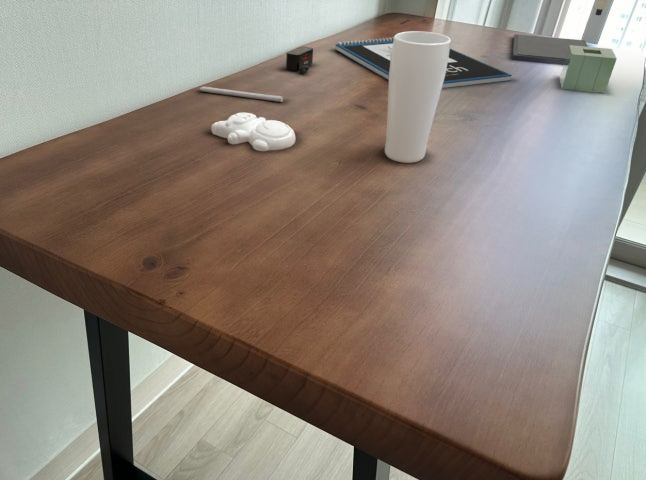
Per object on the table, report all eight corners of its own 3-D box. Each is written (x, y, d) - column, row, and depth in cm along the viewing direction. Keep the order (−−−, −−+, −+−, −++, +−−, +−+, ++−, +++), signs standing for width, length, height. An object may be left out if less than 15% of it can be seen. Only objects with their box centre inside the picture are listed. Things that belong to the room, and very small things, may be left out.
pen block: (600, 83, 105) (611, 48, 102) (604, 94, 100) (616, 58, 96) (559, 78, 107) (569, 44, 104) (561, 89, 102) (571, 54, 98)
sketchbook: (409, 94, 99) (411, 82, 98) (332, 51, 121) (333, 41, 120) (510, 81, 105) (513, 69, 104) (419, 43, 128) (421, 33, 127)
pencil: (200, 86, 97) (283, 97, 93) (199, 91, 97) (282, 102, 93) (197, 85, 96) (282, 95, 92) (196, 90, 97) (280, 101, 92)
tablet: (583, 45, 129) (585, 39, 128) (592, 68, 113) (594, 62, 112) (513, 39, 132) (514, 33, 132) (512, 60, 117) (513, 54, 116)
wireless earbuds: (282, 71, 108) (282, 53, 106) (301, 63, 113) (301, 46, 111) (304, 75, 106) (305, 57, 104) (322, 67, 111) (323, 49, 109)
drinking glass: (378, 145, 80) (392, 29, 71) (427, 148, 79) (448, 32, 70) (378, 165, 74) (394, 42, 65) (432, 168, 73) (455, 45, 65)
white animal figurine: (242, 119, 87) (242, 99, 85) (307, 139, 81) (308, 118, 79) (202, 136, 81) (201, 115, 79) (268, 158, 75) (268, 136, 73)
